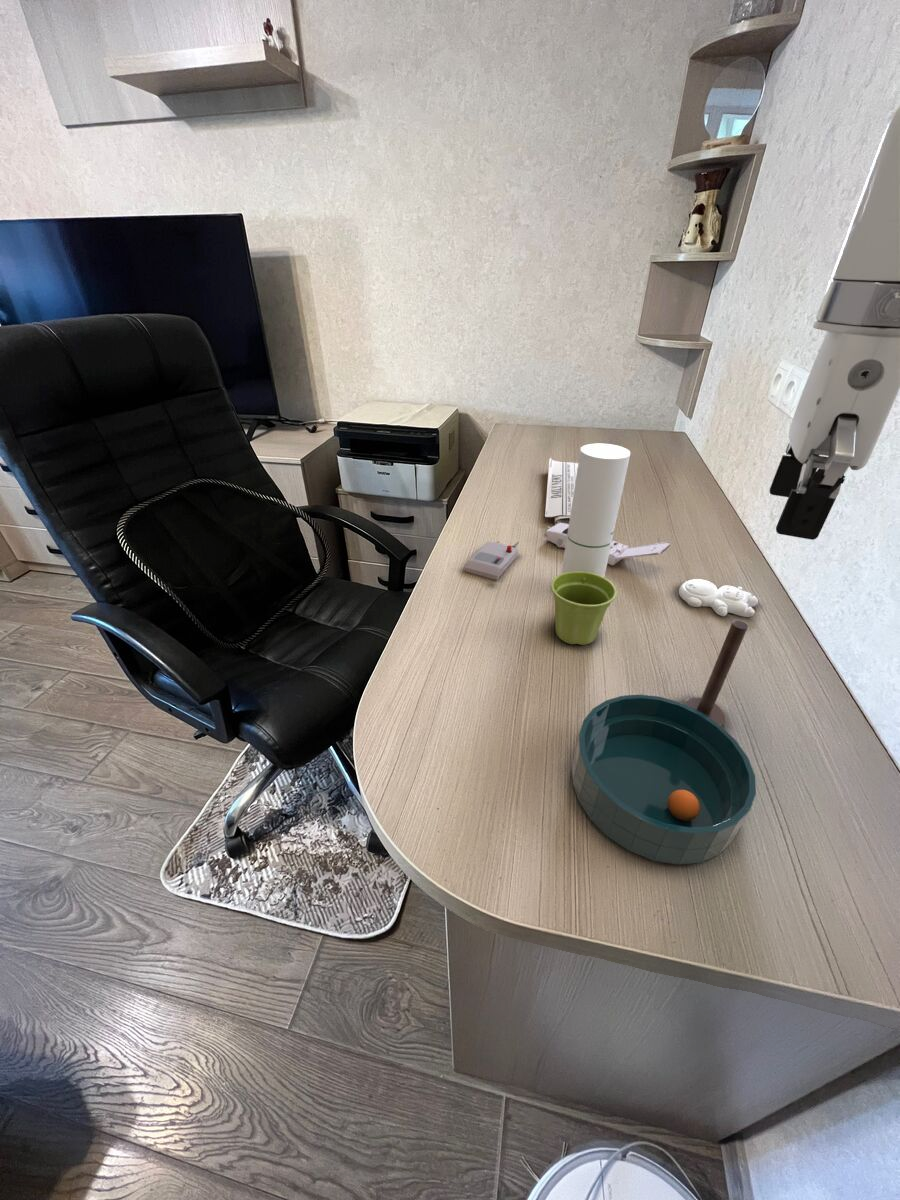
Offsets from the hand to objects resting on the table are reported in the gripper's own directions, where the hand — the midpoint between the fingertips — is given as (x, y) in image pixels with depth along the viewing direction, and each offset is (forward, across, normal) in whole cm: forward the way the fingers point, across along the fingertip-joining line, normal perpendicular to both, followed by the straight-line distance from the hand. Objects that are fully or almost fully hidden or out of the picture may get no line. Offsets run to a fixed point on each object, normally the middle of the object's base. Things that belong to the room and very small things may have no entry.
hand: (790, 514), depth 48 cm
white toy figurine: (+28, +29, -1) cm, 41 cm away
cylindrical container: (+28, +22, +21) cm, 42 cm away
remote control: (+28, +26, +38) cm, 54 cm away
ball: (+26, -16, +2) cm, 31 cm away
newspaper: (+28, +63, +33) cm, 77 cm away
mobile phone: (+28, +37, +21) cm, 51 cm away
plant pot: (+28, +10, +19) cm, 36 cm away
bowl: (+28, -14, +5) cm, 32 cm away
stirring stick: (+28, 0, 0) cm, 28 cm away
